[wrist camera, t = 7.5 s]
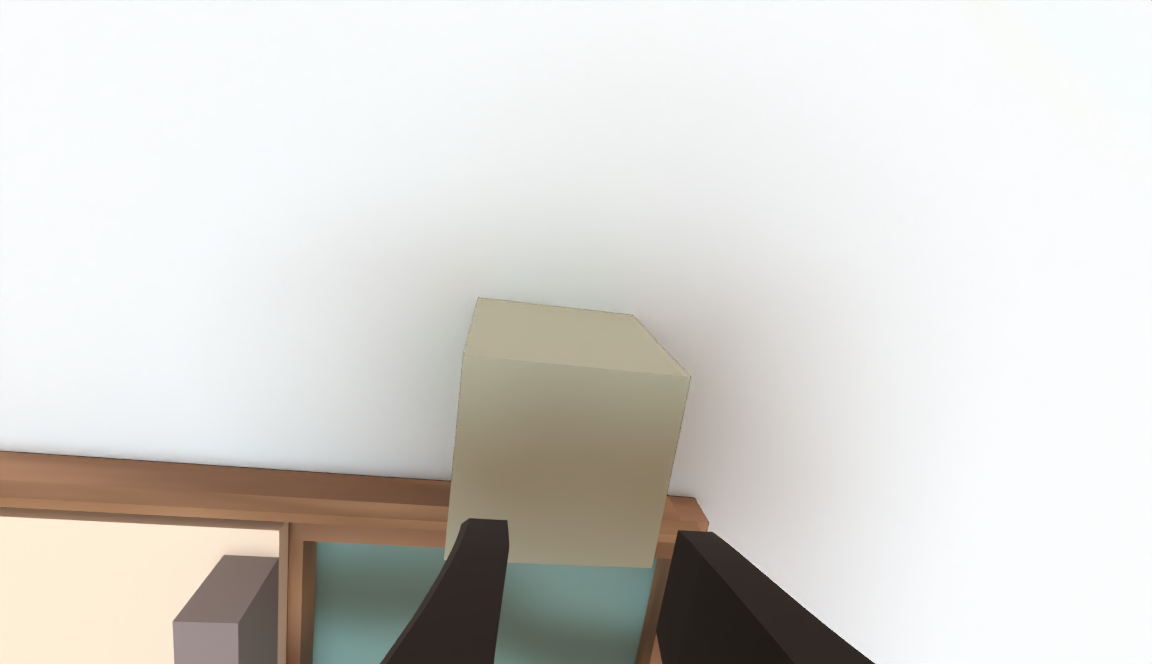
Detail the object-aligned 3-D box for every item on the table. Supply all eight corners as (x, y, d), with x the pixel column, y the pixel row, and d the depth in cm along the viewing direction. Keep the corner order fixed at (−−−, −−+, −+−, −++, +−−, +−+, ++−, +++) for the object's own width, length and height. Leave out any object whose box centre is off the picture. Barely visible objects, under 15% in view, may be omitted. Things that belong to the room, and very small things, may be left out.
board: (641, 731, 22) (656, 790, 20) (-123, 733, 18) (-210, 807, 16) (694, 498, 20) (717, 537, 18) (-188, 438, 16) (-302, 480, 13)
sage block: (608, 451, 19) (651, 568, 13) (464, 441, 18) (444, 559, 12) (631, 314, 18) (691, 376, 12) (478, 297, 17) (463, 355, 11)
